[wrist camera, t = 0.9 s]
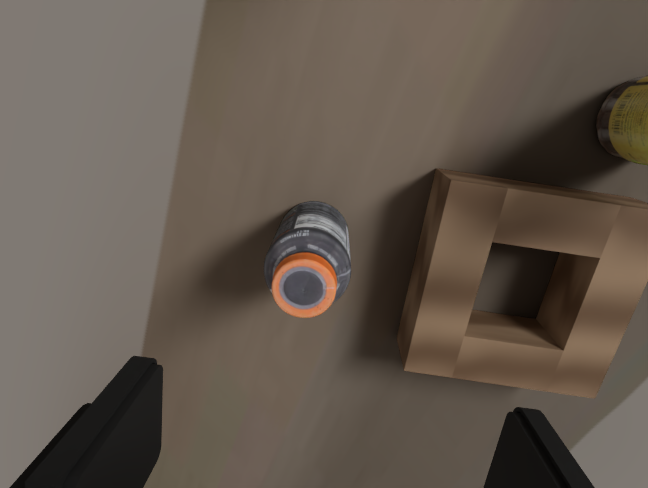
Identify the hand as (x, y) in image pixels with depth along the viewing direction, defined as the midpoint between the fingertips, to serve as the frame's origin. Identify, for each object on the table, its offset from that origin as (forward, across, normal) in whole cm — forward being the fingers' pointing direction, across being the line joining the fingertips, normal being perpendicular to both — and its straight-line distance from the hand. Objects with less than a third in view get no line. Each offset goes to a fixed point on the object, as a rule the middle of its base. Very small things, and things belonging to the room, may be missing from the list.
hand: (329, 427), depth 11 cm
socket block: (+25, -16, +3) cm, 30 cm away
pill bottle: (+26, +2, +2) cm, 26 cm away
